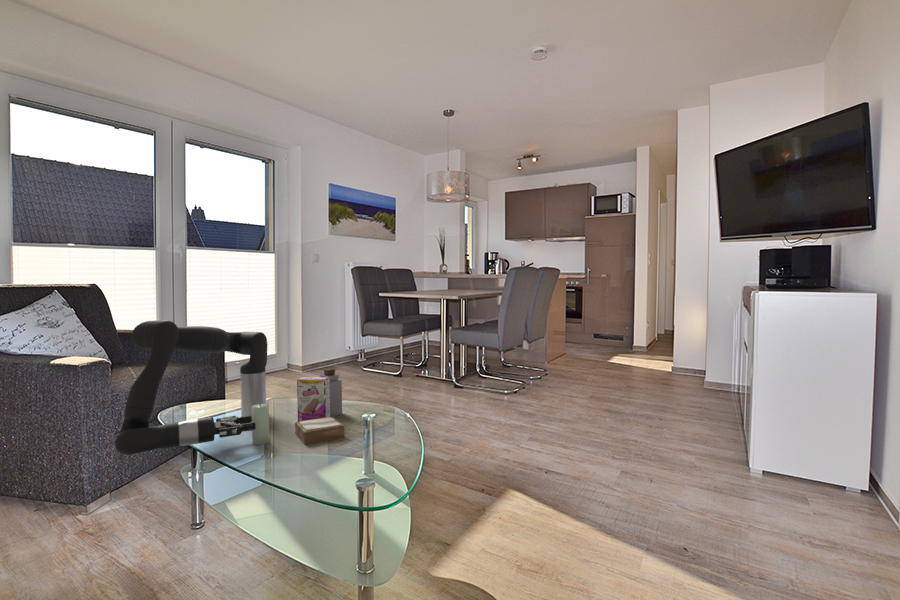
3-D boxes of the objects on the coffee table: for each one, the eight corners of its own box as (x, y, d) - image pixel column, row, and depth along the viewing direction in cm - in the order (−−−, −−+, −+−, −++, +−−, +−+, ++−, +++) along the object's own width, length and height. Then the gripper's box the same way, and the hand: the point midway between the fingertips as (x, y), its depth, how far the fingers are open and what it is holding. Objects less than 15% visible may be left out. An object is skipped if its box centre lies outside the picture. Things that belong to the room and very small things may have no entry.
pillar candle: (251, 441, 149) (250, 402, 149) (268, 438, 152) (267, 400, 152) (253, 446, 145) (252, 405, 145) (270, 443, 148) (269, 403, 147)
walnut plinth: (295, 433, 157) (295, 421, 157) (332, 427, 163) (332, 415, 163) (304, 444, 146) (304, 431, 145) (344, 437, 152) (343, 424, 152)
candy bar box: (297, 422, 170) (296, 379, 169) (302, 419, 174) (301, 376, 174) (326, 423, 168) (325, 379, 168) (330, 419, 173) (330, 376, 173)
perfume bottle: (334, 410, 186) (333, 367, 185) (342, 414, 181) (341, 369, 180) (318, 414, 181) (317, 369, 180) (326, 417, 176) (325, 371, 175)
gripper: (196, 425, 133) (256, 416, 141) (195, 413, 145) (250, 406, 153) (197, 450, 133) (257, 439, 141) (195, 436, 145) (250, 427, 154)
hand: (253, 422), depth 147 cm, fingers open, 8 cm apart
